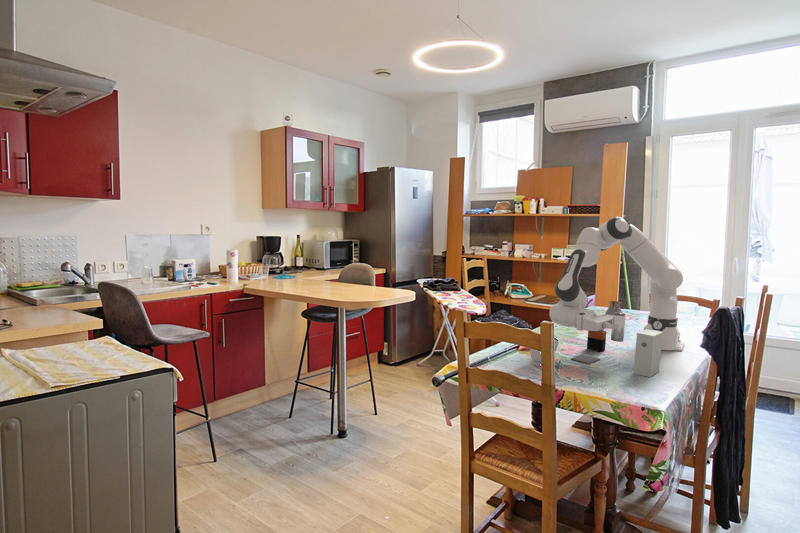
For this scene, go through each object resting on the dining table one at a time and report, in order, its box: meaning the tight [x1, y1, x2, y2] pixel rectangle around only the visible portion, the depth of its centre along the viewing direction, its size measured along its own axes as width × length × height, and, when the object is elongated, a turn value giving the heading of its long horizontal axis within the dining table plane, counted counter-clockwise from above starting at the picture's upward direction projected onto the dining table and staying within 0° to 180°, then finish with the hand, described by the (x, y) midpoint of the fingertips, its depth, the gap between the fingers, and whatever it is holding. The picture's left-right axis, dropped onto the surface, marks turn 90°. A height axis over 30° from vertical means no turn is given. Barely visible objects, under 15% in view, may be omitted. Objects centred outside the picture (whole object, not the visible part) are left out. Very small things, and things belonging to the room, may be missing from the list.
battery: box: [586, 329, 607, 353], centre depth 211 cm, size 4×7×10 cm, turn 45°
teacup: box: [529, 339, 560, 367], centre depth 188 cm, size 12×15×10 cm
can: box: [610, 312, 626, 343], centre depth 186 cm, size 5×5×11 cm
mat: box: [570, 353, 601, 365], centre depth 196 cm, size 10×8×1 cm
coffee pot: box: [605, 300, 623, 315], centre depth 262 cm, size 21×12×15 cm, turn 151°
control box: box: [633, 329, 663, 378], centre depth 180 cm, size 11×6×16 cm, turn 133°
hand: (620, 325), depth 185 cm, fingers closed on can, 5 cm apart
